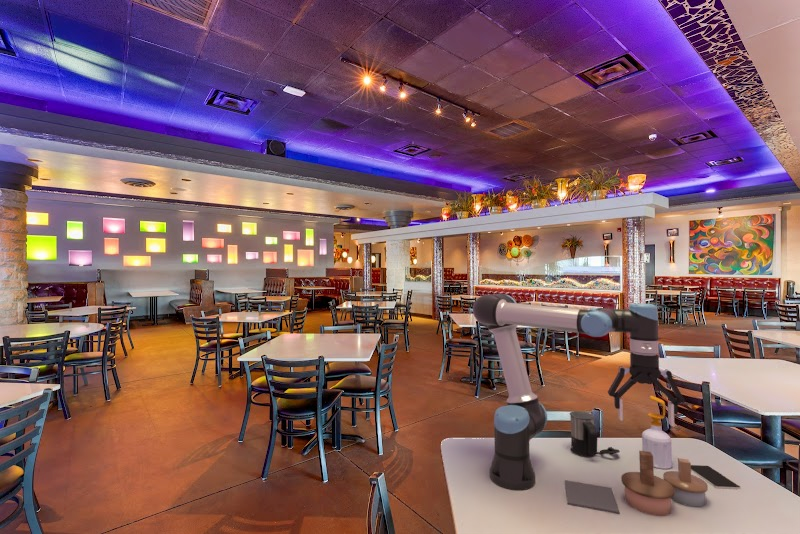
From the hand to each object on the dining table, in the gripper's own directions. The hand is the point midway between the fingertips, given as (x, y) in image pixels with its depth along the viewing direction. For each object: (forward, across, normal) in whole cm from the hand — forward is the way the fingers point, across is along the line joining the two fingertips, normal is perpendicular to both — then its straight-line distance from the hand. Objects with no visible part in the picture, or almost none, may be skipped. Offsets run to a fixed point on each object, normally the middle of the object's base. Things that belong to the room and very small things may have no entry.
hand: (645, 422), depth 118 cm
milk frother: (+25, -10, +32) cm, 41 cm away
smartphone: (+25, +26, +25) cm, 43 cm away
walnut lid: (+19, 0, -1) cm, 19 cm away
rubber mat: (+25, -16, -2) cm, 29 cm away
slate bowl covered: (+24, +12, +7) cm, 28 cm away
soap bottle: (+25, +11, +30) cm, 40 cm away
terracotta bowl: (+24, 0, -1) cm, 25 cm away
